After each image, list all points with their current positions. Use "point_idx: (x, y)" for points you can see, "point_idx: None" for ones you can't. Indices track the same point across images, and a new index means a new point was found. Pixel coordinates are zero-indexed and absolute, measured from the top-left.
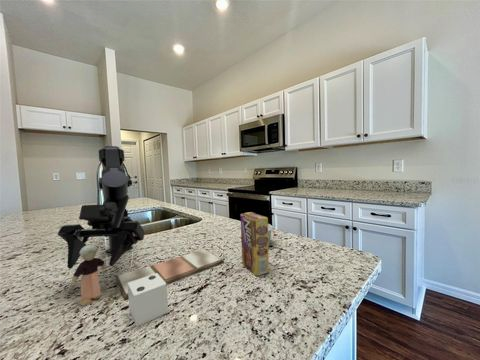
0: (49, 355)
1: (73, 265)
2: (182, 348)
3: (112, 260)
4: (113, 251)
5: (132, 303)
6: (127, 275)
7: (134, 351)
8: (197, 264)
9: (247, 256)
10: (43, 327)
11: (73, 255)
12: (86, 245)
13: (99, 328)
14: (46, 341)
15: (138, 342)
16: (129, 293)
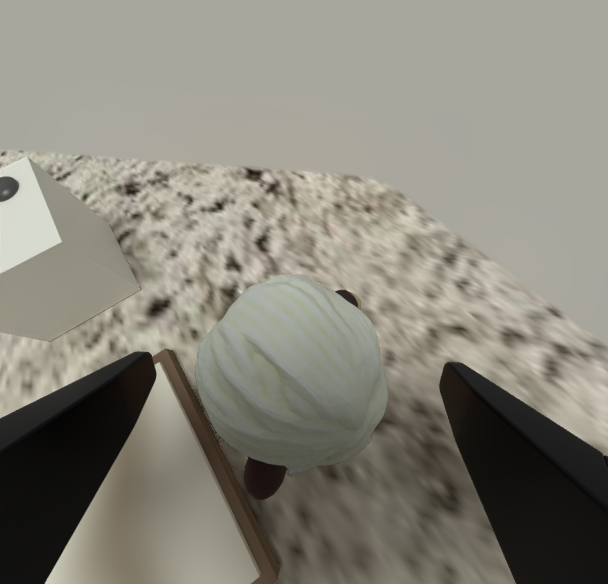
0: (276, 169)
1: (448, 411)
2: (9, 162)
3: (111, 363)
4: (53, 410)
5: (79, 214)
6: (202, 568)
7: (103, 164)
8: None
9: None
10: (368, 249)
11: (505, 441)
12: (294, 329)
13: (204, 229)
14: (315, 203)
15: (98, 182)
16: (80, 238)
